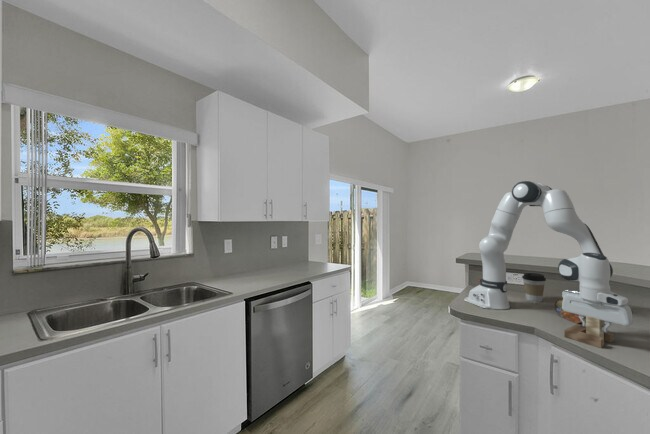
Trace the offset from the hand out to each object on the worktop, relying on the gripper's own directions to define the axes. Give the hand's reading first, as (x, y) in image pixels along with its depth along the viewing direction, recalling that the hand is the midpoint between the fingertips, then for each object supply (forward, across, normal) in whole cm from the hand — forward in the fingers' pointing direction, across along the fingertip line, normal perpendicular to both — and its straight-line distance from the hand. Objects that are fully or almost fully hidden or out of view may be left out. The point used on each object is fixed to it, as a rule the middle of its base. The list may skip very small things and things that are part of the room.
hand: (594, 329), depth 110 cm
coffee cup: (+5, -38, +38) cm, 54 cm away
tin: (+5, -14, +19) cm, 24 cm away
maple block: (+3, 0, 0) cm, 3 cm away
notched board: (+5, -1, 0) cm, 5 cm away
